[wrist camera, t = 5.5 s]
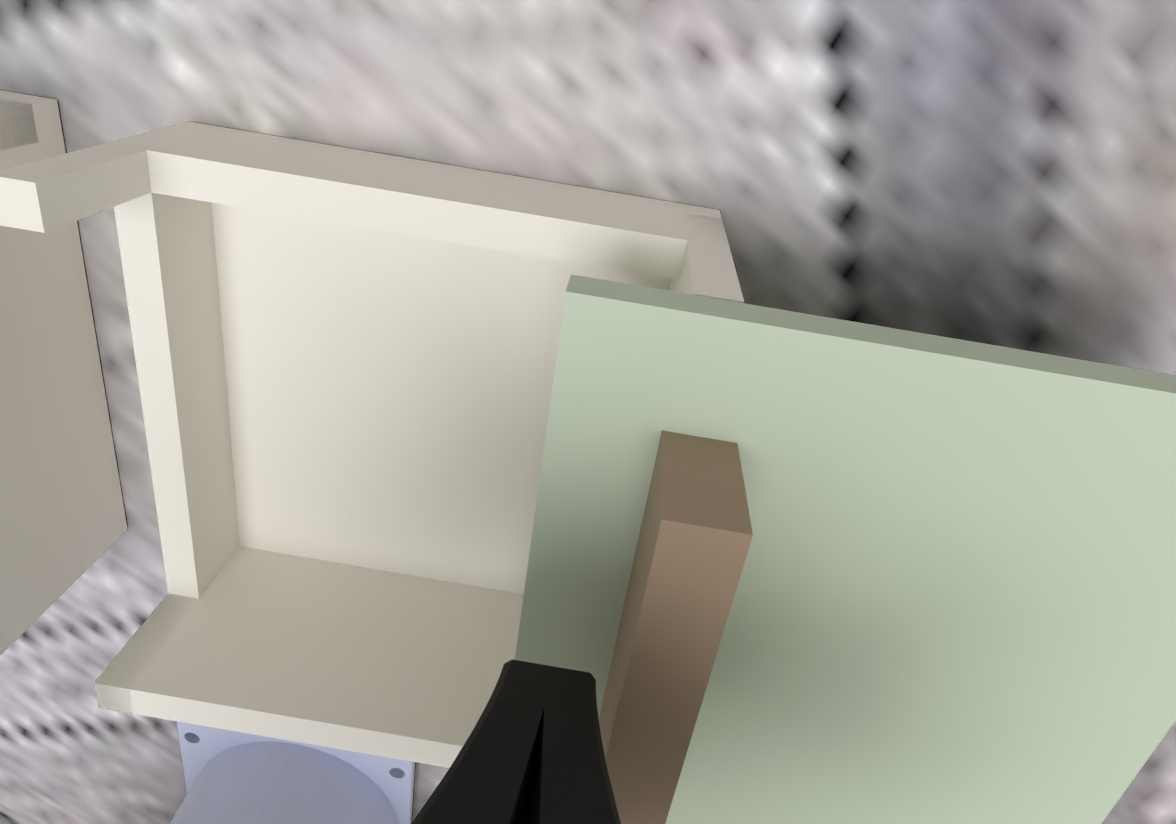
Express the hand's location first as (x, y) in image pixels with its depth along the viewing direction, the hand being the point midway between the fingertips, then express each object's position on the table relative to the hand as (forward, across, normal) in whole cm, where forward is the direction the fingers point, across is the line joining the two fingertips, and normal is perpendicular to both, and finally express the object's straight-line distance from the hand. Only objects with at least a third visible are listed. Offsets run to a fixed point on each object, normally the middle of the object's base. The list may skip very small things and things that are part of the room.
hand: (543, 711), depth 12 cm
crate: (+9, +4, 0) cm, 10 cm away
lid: (+3, -5, 0) cm, 6 cm away
